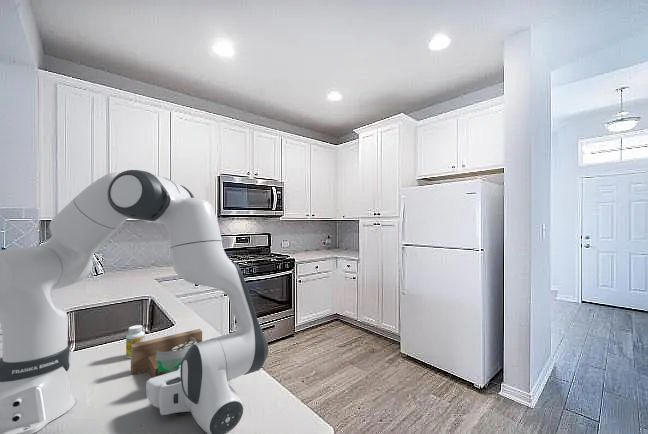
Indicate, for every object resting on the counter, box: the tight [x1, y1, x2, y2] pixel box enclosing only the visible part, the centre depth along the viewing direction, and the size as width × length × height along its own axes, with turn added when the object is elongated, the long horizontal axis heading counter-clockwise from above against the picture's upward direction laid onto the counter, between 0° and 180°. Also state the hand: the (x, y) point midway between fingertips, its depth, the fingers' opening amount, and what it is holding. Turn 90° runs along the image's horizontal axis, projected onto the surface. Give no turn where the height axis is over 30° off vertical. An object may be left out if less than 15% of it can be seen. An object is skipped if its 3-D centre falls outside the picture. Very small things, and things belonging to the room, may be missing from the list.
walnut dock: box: [130, 328, 203, 378], centre depth 91 cm, size 20×13×8 cm, turn 131°
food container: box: [155, 337, 197, 376], centre depth 83 cm, size 12×6×10 cm, turn 158°
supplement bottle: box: [125, 324, 146, 360], centre depth 100 cm, size 5×5×10 cm
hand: (184, 366), depth 81 cm, fingers closed
